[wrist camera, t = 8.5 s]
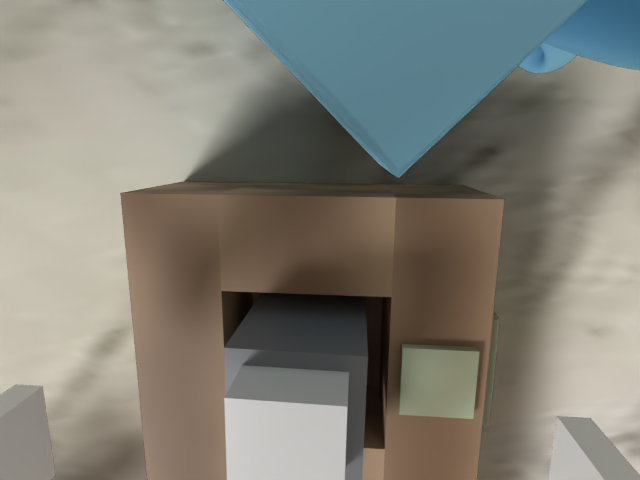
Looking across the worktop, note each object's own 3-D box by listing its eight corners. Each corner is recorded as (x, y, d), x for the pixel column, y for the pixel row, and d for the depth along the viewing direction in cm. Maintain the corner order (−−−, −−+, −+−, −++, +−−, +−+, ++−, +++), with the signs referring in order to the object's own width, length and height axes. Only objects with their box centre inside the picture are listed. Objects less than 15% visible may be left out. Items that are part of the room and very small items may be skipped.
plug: (271, 364, 19) (209, 516, 11) (270, 279, 18) (203, 378, 10) (360, 370, 19) (362, 530, 11) (364, 283, 18) (369, 389, 10)
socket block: (209, 614, 24) (167, 744, 18) (183, 181, 18) (115, 194, 13) (436, 638, 22) (459, 783, 17) (473, 185, 17) (521, 200, 12)
